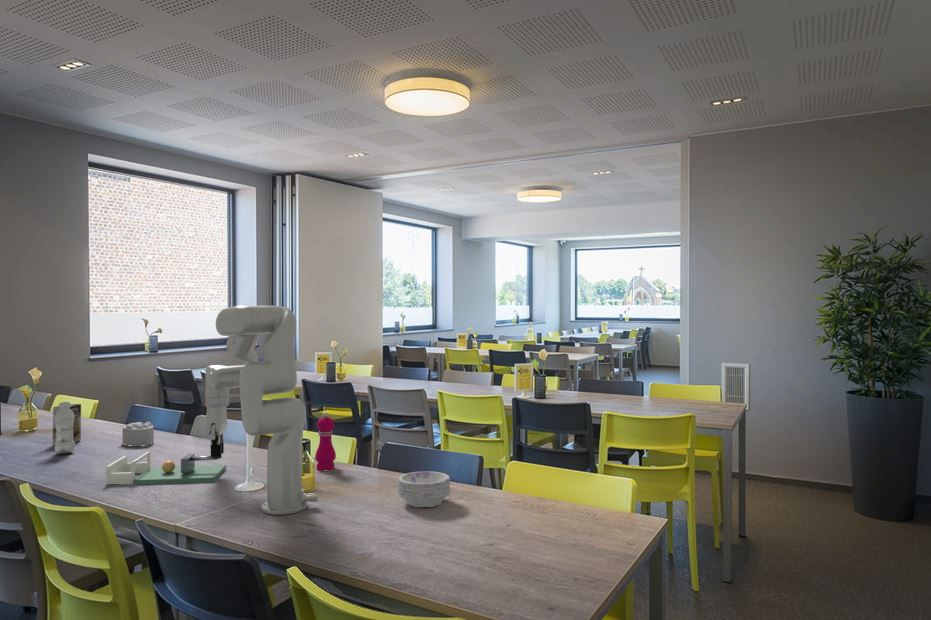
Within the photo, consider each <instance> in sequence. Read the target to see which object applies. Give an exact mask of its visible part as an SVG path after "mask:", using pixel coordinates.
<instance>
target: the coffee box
mask: <svg viewBox="0 0 931 620" xmlns="http://www.w3.org/2000/svg"><path fill="white" fill-rule="evenodd" d="M70 406H71V407H70V409H71V410H72V412H73V413H74V423H73V439H74V442H77V441H80V440H81V441H82V433H81V432H82V404H80V403H70ZM52 408H53V409H52V446H53V445H55V443H56V424H55V418H54V417H55V414H56V413H57V412H58V410H59V409H60V408H59V405H57V406H53V407H52ZM81 441H80V442H81ZM77 443H78V442H77Z"/></svg>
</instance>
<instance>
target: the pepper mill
mask: <svg viewBox="0 0 931 620" xmlns="http://www.w3.org/2000/svg"><path fill="white" fill-rule="evenodd" d="M316 428H317V429H318V430H319V431H318V436H319V442H318V443H319V444H318V447H317V449H316V451H315V458H314V459H315V461H316V462H317V463H316V470H317V471H319V470H320V472H322V471H321V470H329V471H332V469H333V470H334V469H335V463H334V461H335V460H336V459H337V458H336V457H337V454H336V450H335V447H334V445H333V443H332V436H333V435H334V433H333V432H334V431H333V429H334V428H335V422H334V420H333V419H332V418H331V417H329V414H328V413H327V412H324V413H323V414H322V417H321V418H318V421H317V423H316Z"/></svg>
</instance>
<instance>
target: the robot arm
mask: <svg viewBox="0 0 931 620" xmlns="http://www.w3.org/2000/svg"><path fill="white" fill-rule="evenodd" d="M215 328H216V331H217V333H218V334H219V335H220V336H222V337H228V339H227V341H226V346H225V348H226V351H228V353H229V354H230V355H232V356H233V357H235V358H236V359H240V360H242V361H245V363H244V364H241V365H240V364H239V365H236V364H235V365H225V364H213V365H208V366H206V368H205V395H204V396H205V402H204V403H205V407H206V413H205V414H206V416H205V431H204V432H205V433H204V434H205V436H206V437H209V436H210V438H209V439H210V456H211V457H213V456H221V444H220V437H222V455H223V454H224V452H225V451H224V447H225V446H224V445H225V443H224V441H225V440H224V439H225V438H224V433H225V432H227V426H228V416H227V415H228V413H227V412H228V411H227V410H228V409H227V407H228V406H229V405H230V389H237V388H239V398H240V399H239V400H240V414H241V420H242V427H243V429H244V432H245V433H246V434H247V435H249V436H252V437H254V436H255V437H256V436H263V435H269V434H270V435H272V434H273V435H272V437H271V438H270V440H269V442H268V446H267V456H266V457H267V464H266V466H267V467H266V469H267V472H266V473H267V474H266V475H267V477H266V478H267V479H266V483H267V484H266V485H267V487H266V490H267V491H266V495H267V497H266V498H267V499H266V502H263V504H261V511H262V512H263V513H264V514H267V515H276V516H277V515H278V516H280V515H281V516H282V515H291V514H295V513H299V512H301V511H304V510H305V509H307V507H308V502H310V503H311V502H313V503H314V502H316V503H317V502H318V497H319V496H318V494H315V493H314V492H312V493H311V492H310V493H307V492H305V489H304V488H303V485H302V484H303V481H302V480H303V474H302V473H303V435H304V434H303V433H304V427H305V422H306V418H307V417H306V416H307V412H306V411H307V409H306V407H305V404H304V402H303V401H302V400H300V399H299V398H297V397H289V396H288V397H278V398H271V399H263V396H267V395H276V394H277V395H278V394H285V393H289V392H292V391H293V390H294V389H296V387H297V383H298V382H297V381H298V377H297V376H298V375H297V363H296V362H297V361H296V352H295V337H296V332H297V321H296V316H295V314H294V312H293V310H291V309H290V308H289V307H287V306H286V307H285V306H281V305H235V306H232V307H231V306H230V307H226V308H222V309H221V310H220V311H219V313H218V314H217V317H216V318H215ZM261 335H268V336H267V338H266V340H264V341H265V342H264V344H263V353H264V354H263V355H264V357H263V358H264V360H263V361H262V360H261V361H259V357H258V354H257V353H256V351H255V348H256V345H257V344H258V341H259V338H260V336H261ZM216 437H218V440H217V438H216Z"/></svg>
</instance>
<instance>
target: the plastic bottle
mask: <svg viewBox="0 0 931 620" xmlns="http://www.w3.org/2000/svg"><path fill="white" fill-rule="evenodd" d="M70 404H71V402H70V401H62V402H58V406H59V408H60V409H59V410H58V412H57V413H56V414H55V417H54V418H55V424H56V443H55V446H54V452H55V454H57V455H67V454H71V453H73V452H74V451H75V447H76V443H74V439H73V423H74V413H73V412H72V410H71V409H70V407H71V406H70Z"/></svg>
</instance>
